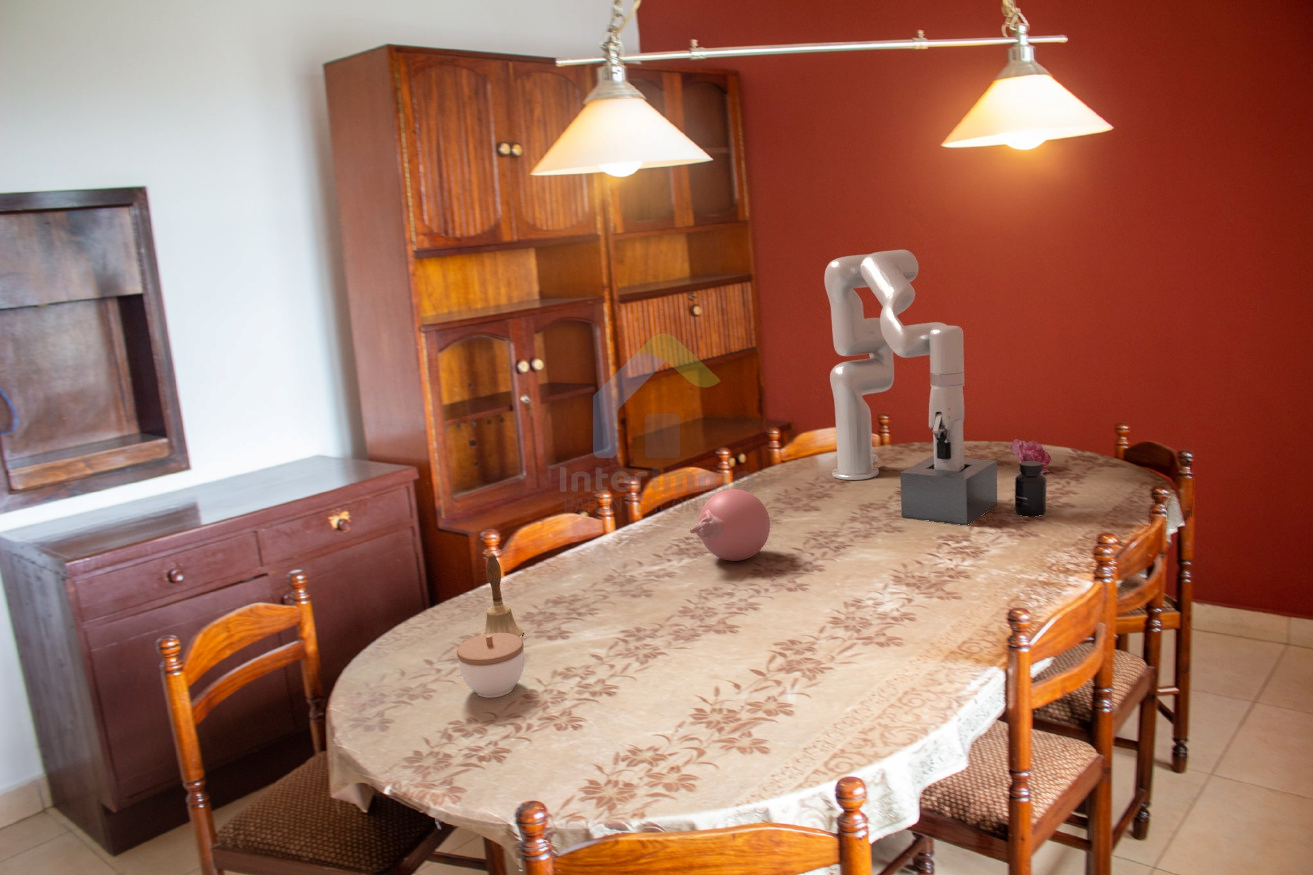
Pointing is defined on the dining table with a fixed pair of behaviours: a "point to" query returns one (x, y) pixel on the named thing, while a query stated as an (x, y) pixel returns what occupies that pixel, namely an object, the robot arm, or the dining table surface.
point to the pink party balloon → (733, 525)
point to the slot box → (949, 491)
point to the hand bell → (498, 604)
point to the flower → (1030, 453)
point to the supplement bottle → (1030, 490)
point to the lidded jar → (491, 663)
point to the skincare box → (952, 449)
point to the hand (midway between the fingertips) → (948, 455)
